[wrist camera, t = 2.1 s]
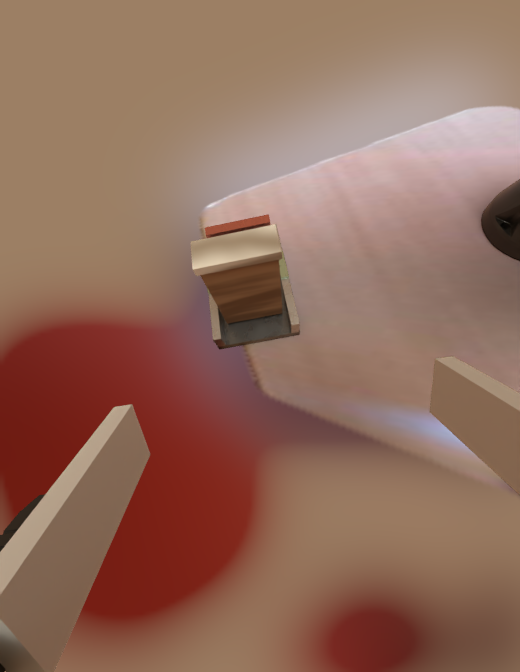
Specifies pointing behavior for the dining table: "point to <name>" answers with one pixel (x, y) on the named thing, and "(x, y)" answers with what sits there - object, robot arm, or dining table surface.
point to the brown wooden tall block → (241, 272)
